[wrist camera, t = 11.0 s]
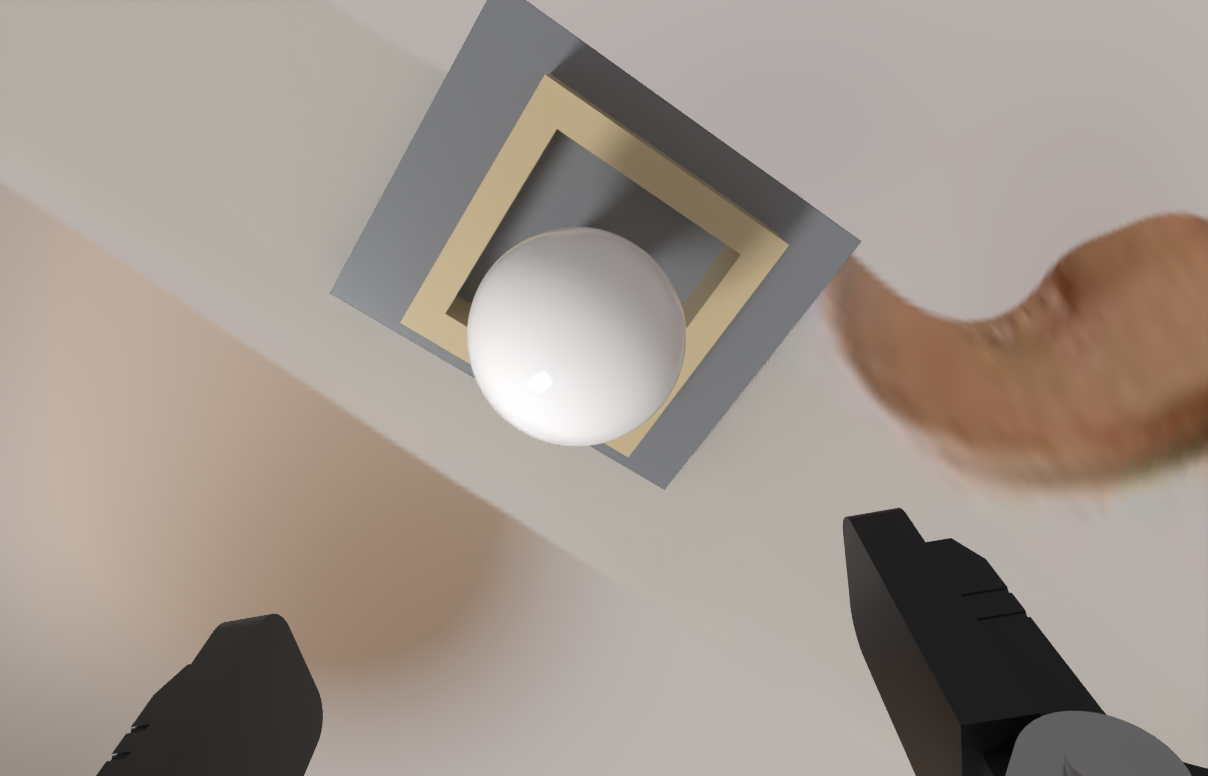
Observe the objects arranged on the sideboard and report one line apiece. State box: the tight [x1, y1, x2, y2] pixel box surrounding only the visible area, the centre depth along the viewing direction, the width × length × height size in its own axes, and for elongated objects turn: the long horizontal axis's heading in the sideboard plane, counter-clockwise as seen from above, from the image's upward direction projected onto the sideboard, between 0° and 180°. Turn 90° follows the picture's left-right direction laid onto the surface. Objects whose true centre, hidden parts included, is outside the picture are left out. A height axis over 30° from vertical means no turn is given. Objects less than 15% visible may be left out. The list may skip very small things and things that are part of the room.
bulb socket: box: [330, 0, 861, 490], centre depth 29 cm, size 16×13×4 cm
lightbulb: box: [467, 226, 686, 446], centre depth 25 cm, size 6×6×11 cm
